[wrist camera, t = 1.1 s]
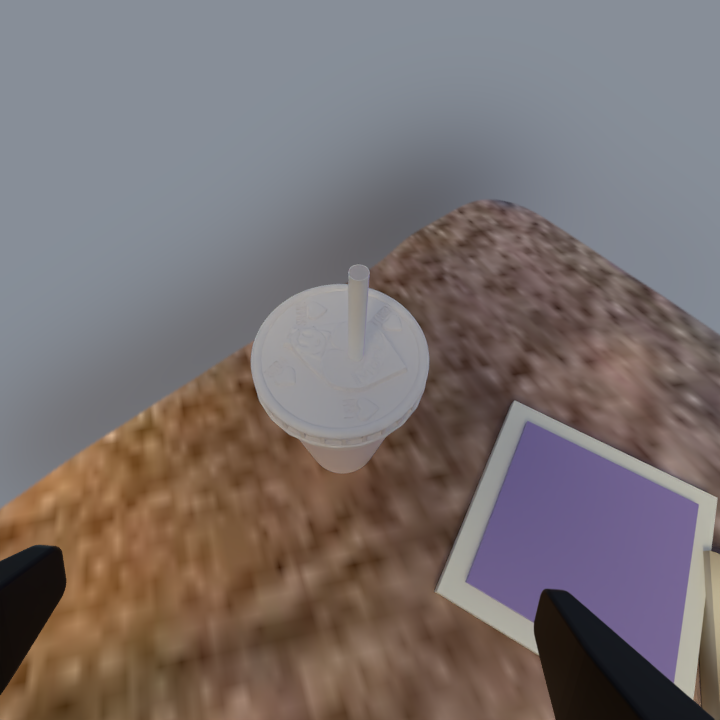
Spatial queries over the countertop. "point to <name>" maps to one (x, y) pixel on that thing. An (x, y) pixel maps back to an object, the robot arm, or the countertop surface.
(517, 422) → the ink pad
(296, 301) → the smoothie
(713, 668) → the board
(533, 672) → the countertop surface
